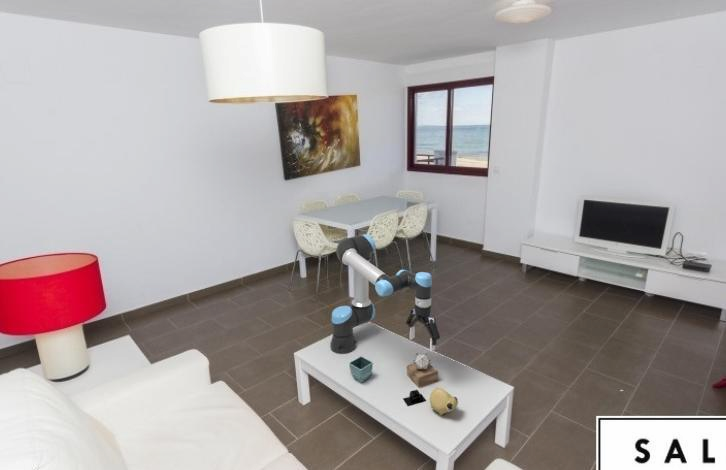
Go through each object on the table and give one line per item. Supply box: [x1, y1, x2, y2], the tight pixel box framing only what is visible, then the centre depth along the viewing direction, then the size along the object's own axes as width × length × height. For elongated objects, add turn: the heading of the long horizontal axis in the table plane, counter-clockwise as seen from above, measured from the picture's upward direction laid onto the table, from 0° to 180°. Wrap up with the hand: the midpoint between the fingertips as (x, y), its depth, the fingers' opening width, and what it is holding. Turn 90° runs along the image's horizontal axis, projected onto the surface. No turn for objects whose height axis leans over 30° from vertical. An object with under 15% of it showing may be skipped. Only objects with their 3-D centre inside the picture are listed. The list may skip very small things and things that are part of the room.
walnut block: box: [406, 362, 439, 389], centre depth 189 cm, size 11×11×6 cm
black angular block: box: [402, 389, 427, 407], centre depth 175 cm, size 12×7×5 cm, turn 109°
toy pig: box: [429, 387, 459, 416], centre depth 166 cm, size 10×12×11 cm
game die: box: [413, 352, 432, 371], centre depth 187 cm, size 9×8×10 cm
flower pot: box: [348, 355, 374, 383], centre depth 191 cm, size 9×9×9 cm
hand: (422, 344), depth 185 cm, fingers open, 13 cm apart
